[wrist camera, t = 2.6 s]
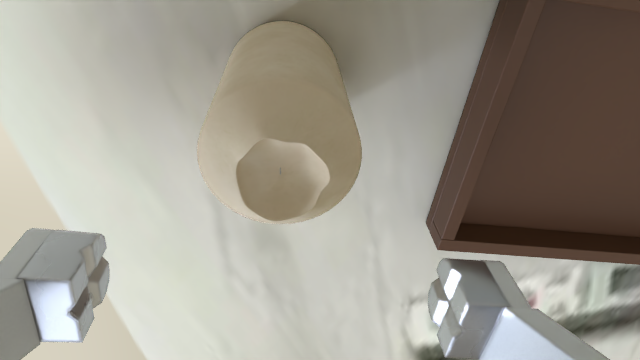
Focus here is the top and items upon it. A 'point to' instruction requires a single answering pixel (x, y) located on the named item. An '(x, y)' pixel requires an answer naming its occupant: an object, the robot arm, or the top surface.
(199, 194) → the top surface
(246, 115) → the candle
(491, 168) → the tray
